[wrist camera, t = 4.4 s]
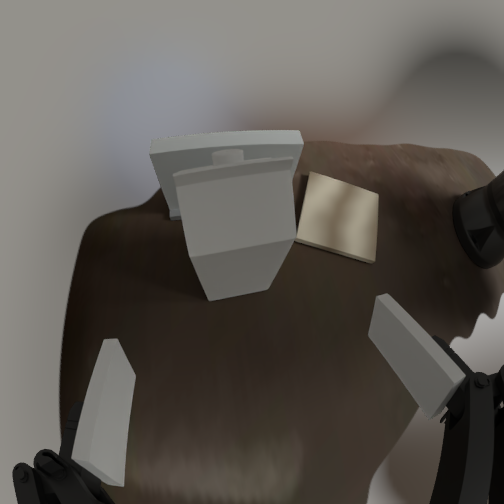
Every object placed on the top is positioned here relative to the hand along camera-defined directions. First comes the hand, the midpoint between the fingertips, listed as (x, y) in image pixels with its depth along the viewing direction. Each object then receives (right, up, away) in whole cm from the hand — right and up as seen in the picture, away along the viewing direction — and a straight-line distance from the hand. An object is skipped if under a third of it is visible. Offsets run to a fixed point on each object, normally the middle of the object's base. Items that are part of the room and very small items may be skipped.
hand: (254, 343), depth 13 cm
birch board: (+12, +9, +24) cm, 28 cm away
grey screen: (-3, +11, +23) cm, 26 cm away
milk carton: (-2, +2, +20) cm, 21 cm away
